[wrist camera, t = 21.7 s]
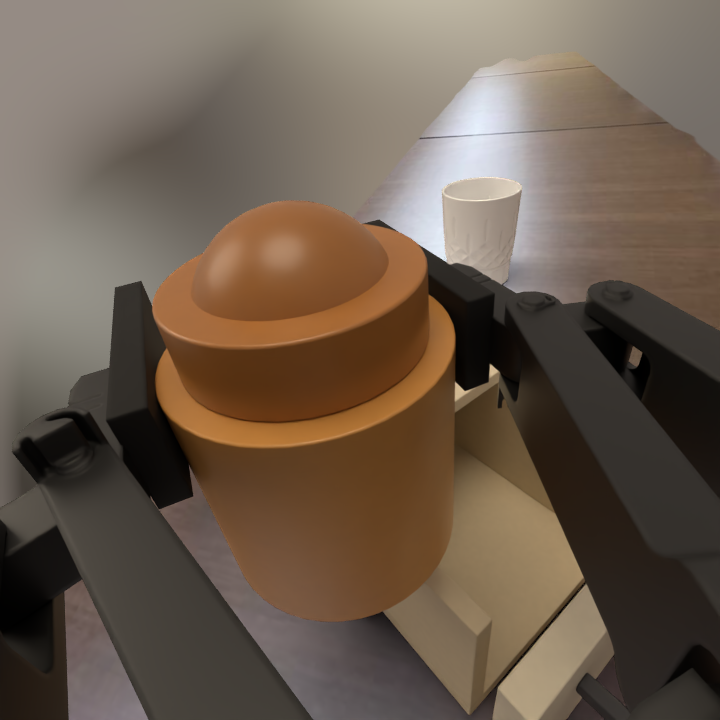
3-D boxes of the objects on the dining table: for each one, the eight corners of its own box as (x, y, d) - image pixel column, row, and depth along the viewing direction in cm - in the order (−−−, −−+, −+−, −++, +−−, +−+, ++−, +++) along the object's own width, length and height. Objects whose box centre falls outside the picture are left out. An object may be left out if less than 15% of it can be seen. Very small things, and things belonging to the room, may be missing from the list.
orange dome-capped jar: (310, 687, 11) (158, 350, 5) (199, 503, 16) (57, 222, 10) (502, 514, 14) (540, 185, 8) (360, 405, 19) (323, 149, 13)
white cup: (492, 300, 48) (499, 204, 42) (429, 284, 52) (427, 195, 46) (525, 270, 52) (535, 180, 46) (464, 258, 57) (466, 174, 51)
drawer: (869, 716, 18) (1019, 621, 13) (738, 1087, 12) (919, 1149, 7) (448, 429, 32) (449, 337, 28) (301, 535, 27) (272, 442, 22)
